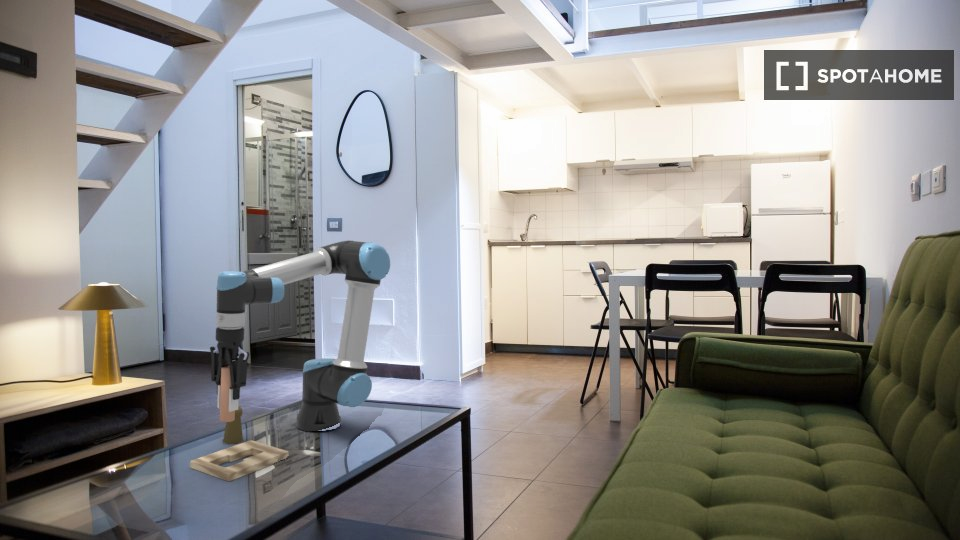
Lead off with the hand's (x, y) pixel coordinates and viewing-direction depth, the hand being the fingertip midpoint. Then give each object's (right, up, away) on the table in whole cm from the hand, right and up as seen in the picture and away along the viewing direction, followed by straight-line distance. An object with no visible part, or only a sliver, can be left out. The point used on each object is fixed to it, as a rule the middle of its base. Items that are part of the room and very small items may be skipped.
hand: (227, 408), depth 193 cm
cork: (-7, -15, +23) cm, 29 cm away
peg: (0, -3, 0) cm, 3 cm away
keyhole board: (+2, -17, +6) cm, 18 cm away
